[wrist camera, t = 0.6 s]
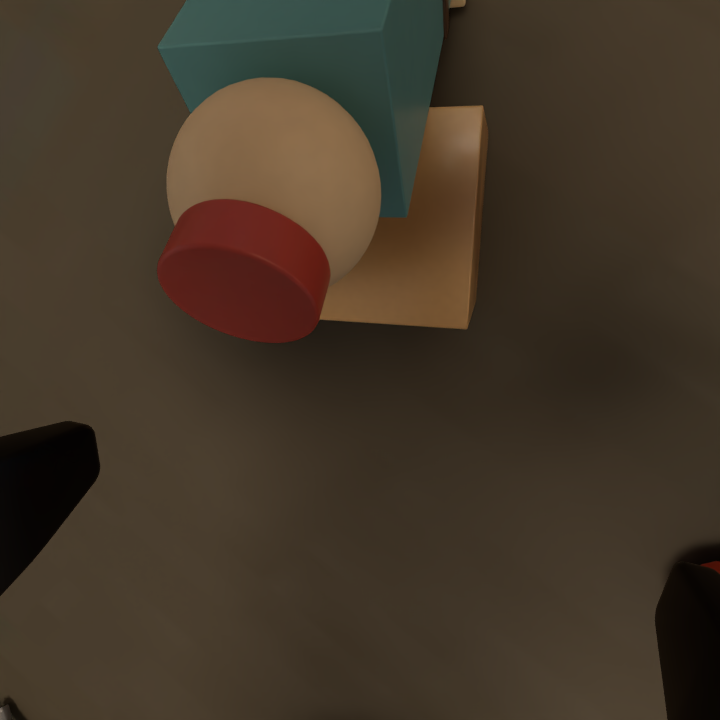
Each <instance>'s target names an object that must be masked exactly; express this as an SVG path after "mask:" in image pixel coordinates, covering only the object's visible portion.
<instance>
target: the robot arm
mask: <svg viewBox="0 0 720 720" xmlns="http://www.w3.org/2000/svg"><path fill="white" fill-rule="evenodd" d="M99 471H100V462H99V456H98V449H97V443H96V437H95V432H94V430H93V429H92V427H90V426H89V425H86V424H81V423H77V422H72V421H64V422H60V423H56V424H52V425H47V426H43V427H39V428H35V429H31V430H27V431H22V432H18V433H14V434H10V435H6V436H2V437H0V596H1V595H2V594H3V593H4V592H5V590H6V589H7V588H8V587H9V586H10V585H11V584H12V583H13V582H14V581H15V580H16V579H17V577H18V576H19V575H20V574H21V573H22V572H23V571H24V570H25V569H26V568H27V567H28V565H29V564H30V563H31V562H32V561H33V560H34V559H35V557H36V556H37V555H38V554H39V553H40V552H41V550H42V549H43V548H44V547H45V545H46V544H47V543H48V542H49V540H50V539H51V538H52V536H53V535H54V534H55V533H56V531H57V530H58V529H59V527H60V526H61V525H62V524H63V522H64V521H65V520H66V518H67V517H68V516H69V515H70V513H71V512H72V511H73V509H74V508H75V507H76V506H77V504H78V503H79V502H80V500H81V499H82V498H83V496H84V495H85V494H86V493H87V491H88V490H89V489H90V487H91V486H92V485H93V484H94V482H95V481H96V479H97V477H98V475H99ZM655 626H656V634H657V641H658V649H659V657H660V665H661V672H662V680H663V688H664V696H665V703H666V711H667V719H668V720H720V574H719V573H718V572H717V571H716V570H714V569H712V568H709V567H705V566H701V565H696V564H692V563H688V562H678V563H676V564H675V565H674V566H673V568H672V570H671V572H670V575H669V577H668V580H667V582H666V585H665V587H664V590H663V592H662V594H661V597H660V599H659V602H658V604H657V608H656V614H655Z"/></svg>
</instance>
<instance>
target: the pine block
mask: <svg viewBox="0 0 720 720" xmlns="http://www.w3.org/2000/svg"><path fill="white" fill-rule="evenodd" d="M488 134H489V133H488V128H487V123H486V118H485V113H484V108H483V106H482V105H478V106H452V107H429V111H428V116H427V121H426V126H425V131H424V136H423V141H422V146H421V151H420V156H419V161H418V166H417V171H416V176H415V181H414V186H413V191H412V196H411V201H410V206H409V211H408V215H407V217H406V218H395V217H379V219H378V223H377V226H376V229H375V232H374V235H373V238H372V240H371V242H370V244H369V246H368V248H367V250H366V251H365V253H364V255H363V256H362V258H361V259H360V261H359V262H358V263H357V264H356V265H355V266H354V268H353V269H352V270H351V271H350V272H349V273H348V274H346V275H345V276H344V277H343V278H342V279H341V280H339V281H338V282H336V283H335V284H333V285H332V286H330V287H328V290H327V293H326V297H325V301H324V304H323V308H322V311H321V315H320V319H319V320H333V321H348V322H363V323H378V324H392V325H407V326H422V327H437V328H452V329H467V328H468V325H469V322H470V319H471V316H472V312H473V309H474V306H475V302H476V294H477V280H478V267H479V254H480V240H481V227H482V214H483V200H484V187H485V174H486V160H487V147H488Z"/></svg>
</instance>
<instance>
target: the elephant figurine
mask: <svg viewBox="0 0 720 720" xmlns="http://www.w3.org/2000/svg"><path fill="white" fill-rule="evenodd" d="M0 720H12V716H11V711H10V707H9V705H6V706H3V707H1V708H0Z"/></svg>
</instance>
